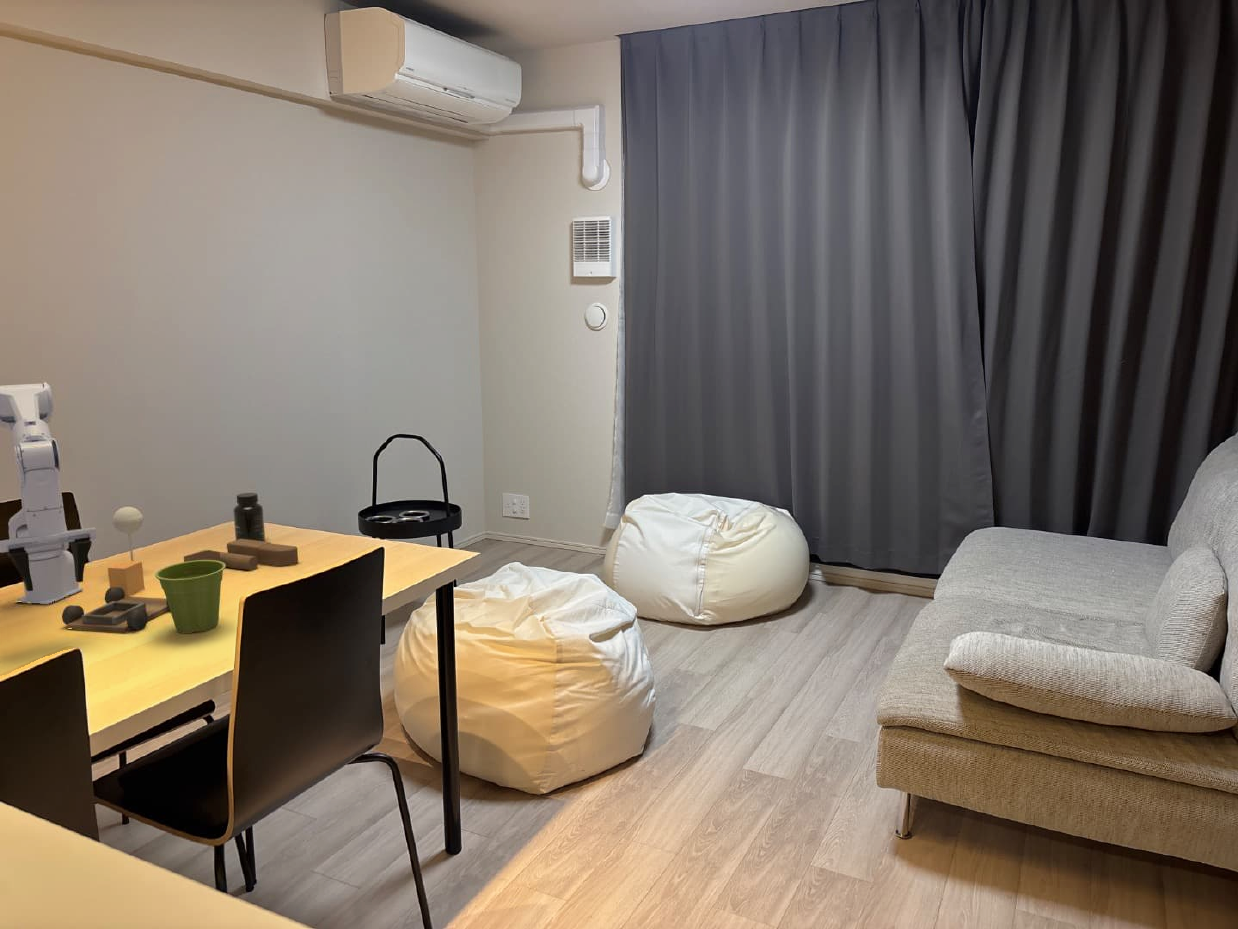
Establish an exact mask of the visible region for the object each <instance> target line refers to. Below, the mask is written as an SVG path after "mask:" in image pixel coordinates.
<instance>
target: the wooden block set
mask: <svg viewBox="0 0 1238 929" xmlns="http://www.w3.org/2000/svg"><path fill="white" fill-rule="evenodd" d="M226 551H227V552H223V551H216V550H212V549H204V550H200V551H197V552H194V553H191V554H188V555H184V556H183V562H188V561H196V560H216V561H221V562H223V563H225V564H226V567H225V568H231V569H238V570H244V571H254V570H256V569H257V567H258V565H264V566H271V567H272V566H273V567H279V568H280V567H287V566H294V565H296V564H299V557H298V554H299V552H298V547H297V546H295V545H286V544H278V543H271V542H269V541H255V540H247V539H239V540H236V539H235V540H233V541H229V542H227V544H226Z"/></svg>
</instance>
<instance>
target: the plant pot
mask: <svg viewBox="0 0 1238 929" xmlns="http://www.w3.org/2000/svg"><path fill="white" fill-rule="evenodd" d="M226 568H227V567H226V564H225V563H223V562H221V561H216V560H196V561H188V562H184V561H183V562H182V561H181V562H177V563H173V564H170V565H168V566H165V567H163V568H160V569H158V570H157V571H156V572H155V574H154V576H155V578H156V579H158V580H159V583H160V585H161V589H162V591H163V592H164V596H165V599H167V602H168V605H169V608H170V610H169V611H170V616H171V618H172V621H173V625H174V627H175V630H176V631H177V632H179V633H182V634H183V633H184V634H192V633H194V632H199V633H200V632H203V633H204V632H207V631H209V630H211V629H214V628H215V627H216V626H217V625H218V624H219V620H220V606H221V605H220V604H221V602H220V601H221V588H222V580H223V575H224V574H223V573H224V570H225V569H226Z"/></svg>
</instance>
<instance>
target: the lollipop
mask: <svg viewBox="0 0 1238 929" xmlns="http://www.w3.org/2000/svg"><path fill="white" fill-rule="evenodd" d="M111 521H112V525H113V526H114V528H115V529H116V531H118V532H120V533H122V534H125V535H126V534H127V535H128V542H129V544H128V545H129V552H130V561H134V553H133V546H132V544H133V543H132V535H131V534H133V533H136V532H137V531H139V530H140V528H142V525H143V523H144V516H143V514H142V513H141V512H140V510H138V509H137V508H135V507H132V506H124V507H121V508H119V509H118V510H117V511H115V513H114V514H113V517H112V520H111Z"/></svg>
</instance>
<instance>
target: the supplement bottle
mask: <svg viewBox="0 0 1238 929" xmlns="http://www.w3.org/2000/svg"><path fill="white" fill-rule="evenodd" d="M258 498H259V496H258V493H257V492H256V493H255V492H243V493H238V494H237V495H236V503H237V505H235V506H234V508H233V512H232V513H233V522H234V523H233V524H234V534H235V536H234V537H235V540H239V539H247V540H255V541H263V542H265V539H266V533H265V520H264V509H263V506H262V505H261V504H260V503H258V502H259V499H258Z"/></svg>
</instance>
